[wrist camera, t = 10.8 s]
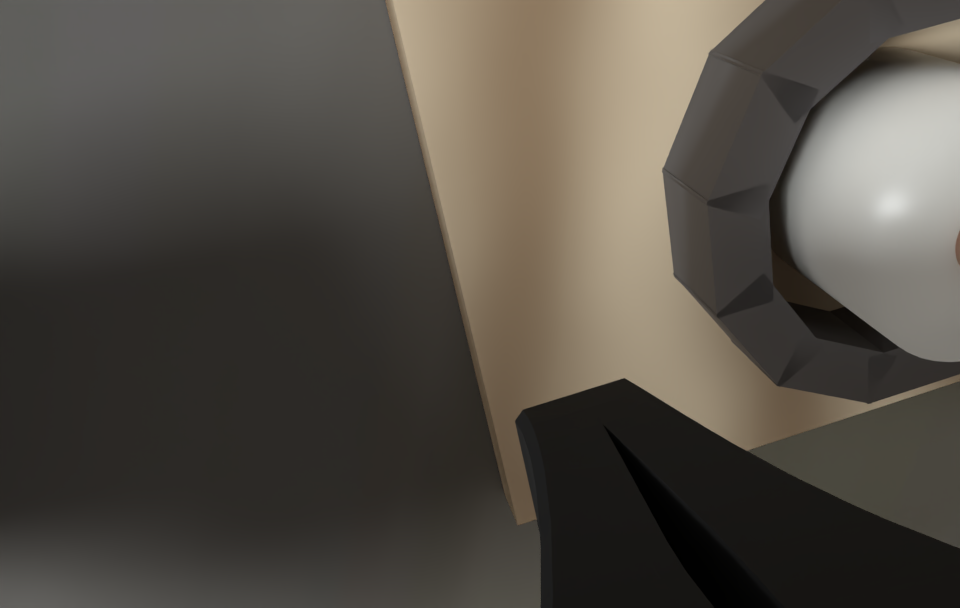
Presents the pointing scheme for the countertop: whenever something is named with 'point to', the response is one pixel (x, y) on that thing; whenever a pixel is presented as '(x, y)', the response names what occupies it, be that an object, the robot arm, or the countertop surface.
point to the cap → (881, 199)
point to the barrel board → (647, 203)
